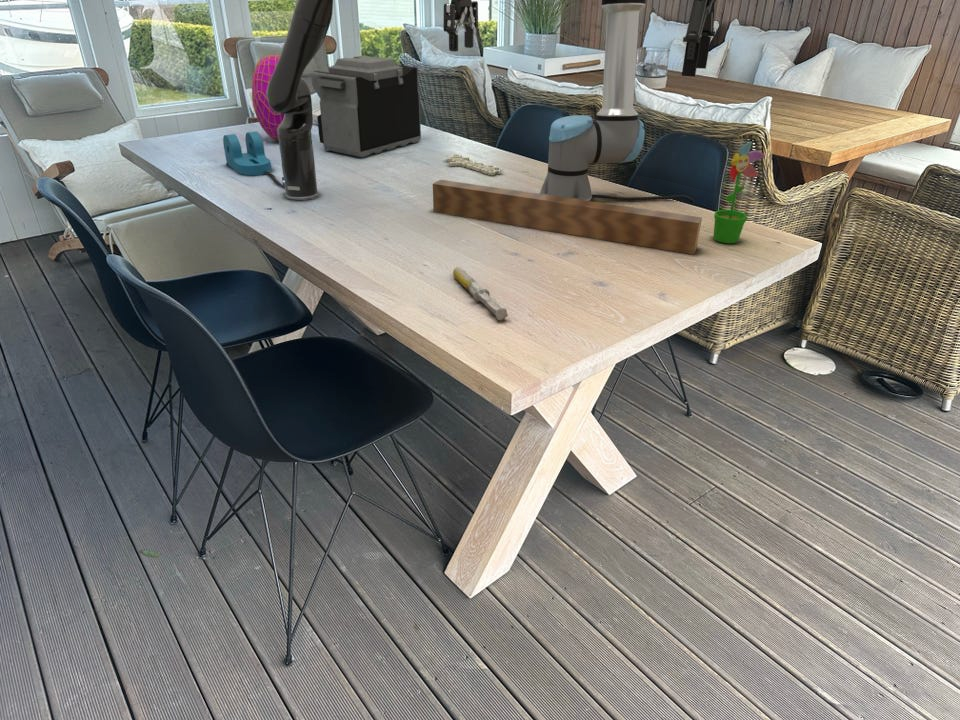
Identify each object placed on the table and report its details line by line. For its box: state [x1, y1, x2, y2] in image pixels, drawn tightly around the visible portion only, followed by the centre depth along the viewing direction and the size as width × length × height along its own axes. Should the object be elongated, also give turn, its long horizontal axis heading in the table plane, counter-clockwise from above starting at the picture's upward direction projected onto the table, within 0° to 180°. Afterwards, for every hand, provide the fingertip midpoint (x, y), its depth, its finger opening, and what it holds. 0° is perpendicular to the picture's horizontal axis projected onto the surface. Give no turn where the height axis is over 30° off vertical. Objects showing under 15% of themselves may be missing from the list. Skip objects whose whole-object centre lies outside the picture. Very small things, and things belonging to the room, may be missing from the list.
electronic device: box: [310, 55, 422, 159], centre depth 250 cm, size 37×22×30 cm, turn 144°
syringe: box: [452, 266, 509, 321], centre depth 145 cm, size 25×4×3 cm, turn 21°
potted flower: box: [713, 141, 766, 244], centre depth 170 cm, size 9×8×25 cm
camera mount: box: [222, 131, 272, 176], centre depth 226 cm, size 18×10×10 cm, turn 35°
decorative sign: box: [445, 154, 501, 176], centre depth 234 cm, size 26×1×10 cm
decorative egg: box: [251, 54, 284, 141], centre depth 257 cm, size 19×19×30 cm
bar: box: [432, 179, 703, 255], centre depth 180 cm, size 72×5×8 cm, turn 65°
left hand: (461, 49), depth 171 cm, fingers open, 8 cm apart
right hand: (694, 72), depth 151 cm, fingers open, 13 cm apart
